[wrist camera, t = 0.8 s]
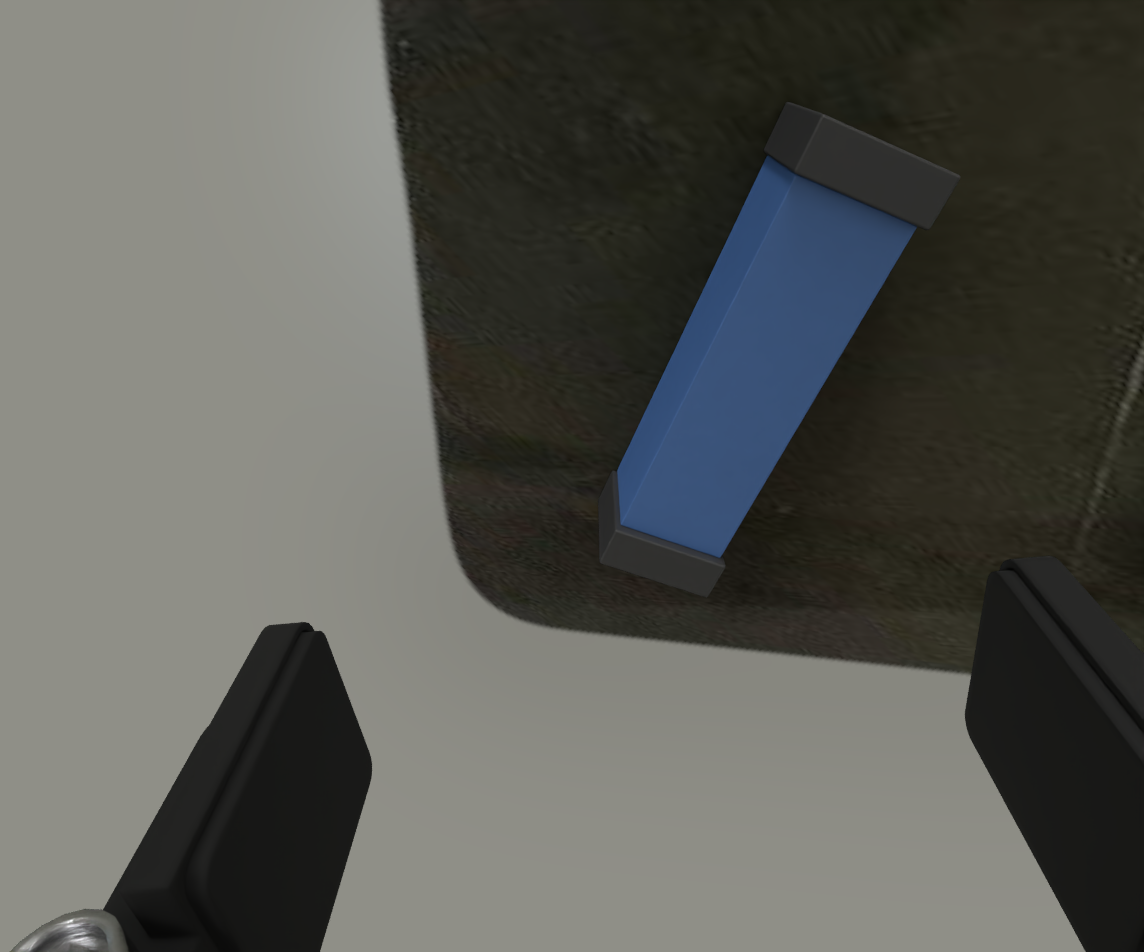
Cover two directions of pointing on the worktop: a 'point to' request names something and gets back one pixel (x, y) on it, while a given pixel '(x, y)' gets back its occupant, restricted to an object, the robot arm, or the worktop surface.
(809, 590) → the worktop surface
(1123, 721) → the robot arm
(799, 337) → the handle
